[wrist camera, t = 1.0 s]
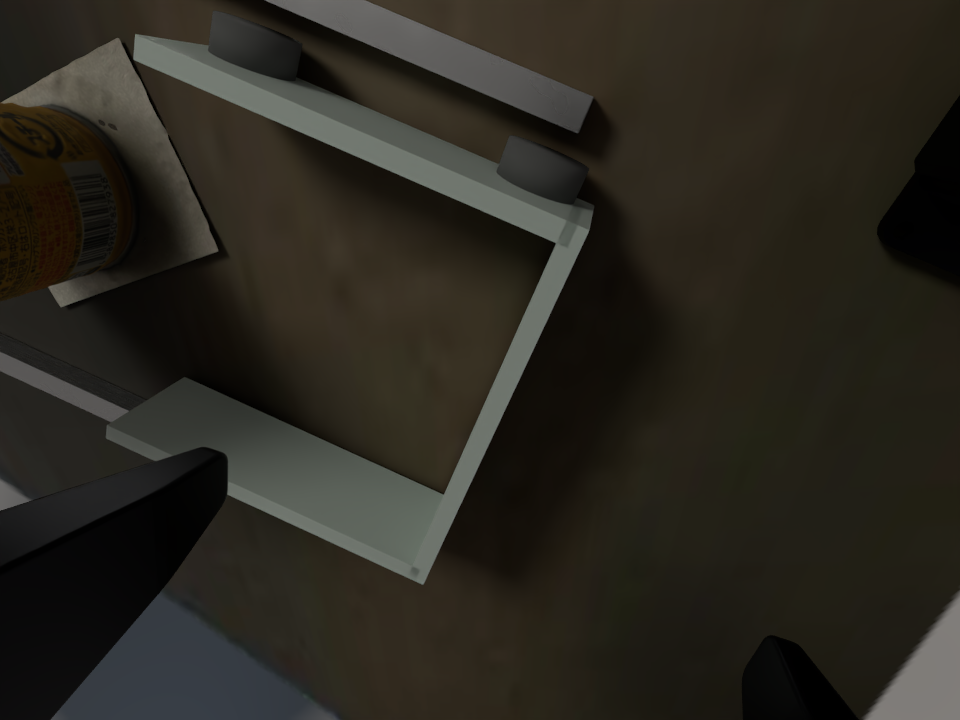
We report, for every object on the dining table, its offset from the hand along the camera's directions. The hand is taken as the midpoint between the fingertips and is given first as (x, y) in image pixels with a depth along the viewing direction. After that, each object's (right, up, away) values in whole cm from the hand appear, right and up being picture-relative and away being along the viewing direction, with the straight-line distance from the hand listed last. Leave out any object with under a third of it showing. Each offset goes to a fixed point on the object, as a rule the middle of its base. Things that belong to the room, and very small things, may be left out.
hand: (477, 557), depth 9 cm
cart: (-4, +5, +12) cm, 13 cm away
